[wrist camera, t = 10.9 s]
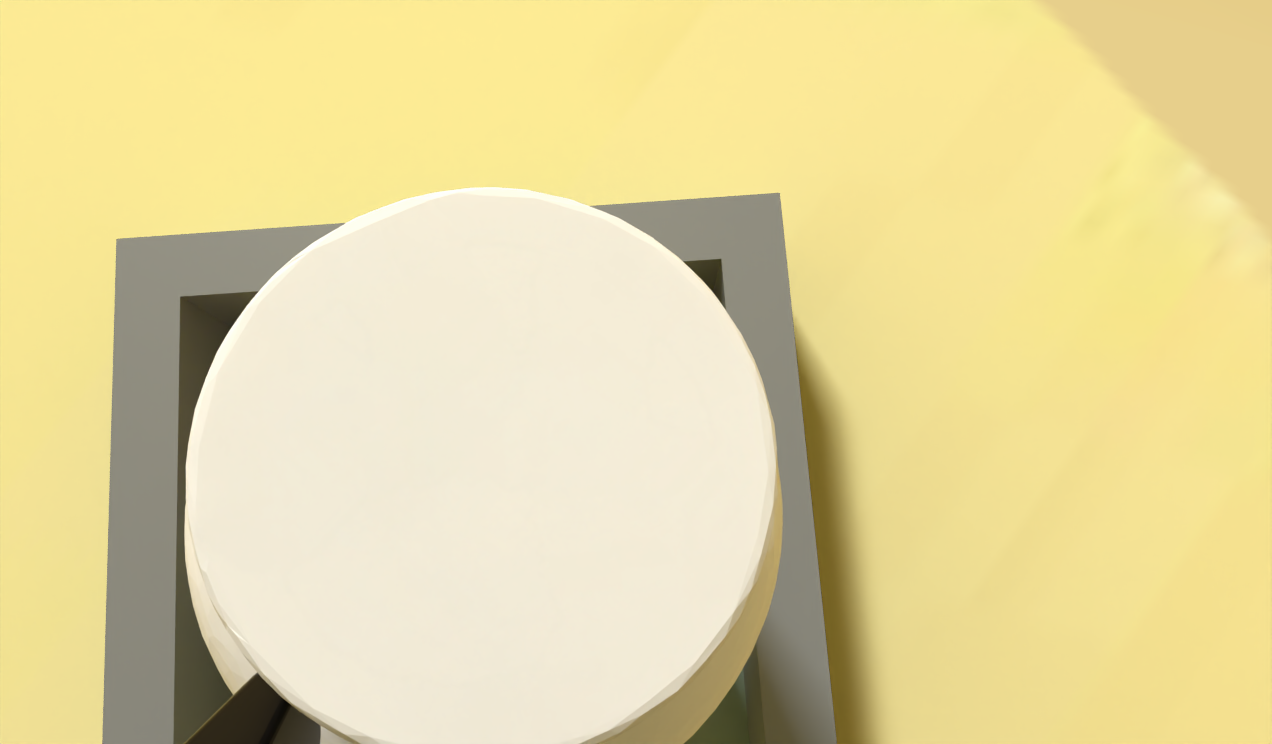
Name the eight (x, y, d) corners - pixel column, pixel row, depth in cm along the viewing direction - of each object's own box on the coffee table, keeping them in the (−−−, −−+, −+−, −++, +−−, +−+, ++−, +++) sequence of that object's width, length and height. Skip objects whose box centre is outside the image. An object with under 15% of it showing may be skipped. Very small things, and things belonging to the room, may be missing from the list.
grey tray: (810, 785, 21) (845, 829, 17) (192, 831, 20) (98, 886, 17) (758, 252, 23) (779, 193, 19) (199, 291, 23) (116, 238, 19)
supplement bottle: (316, 408, 21) (50, 75, 8) (640, 384, 22) (835, 55, 9) (328, 759, 19) (24, 990, 7) (677, 715, 20) (967, 845, 8)
